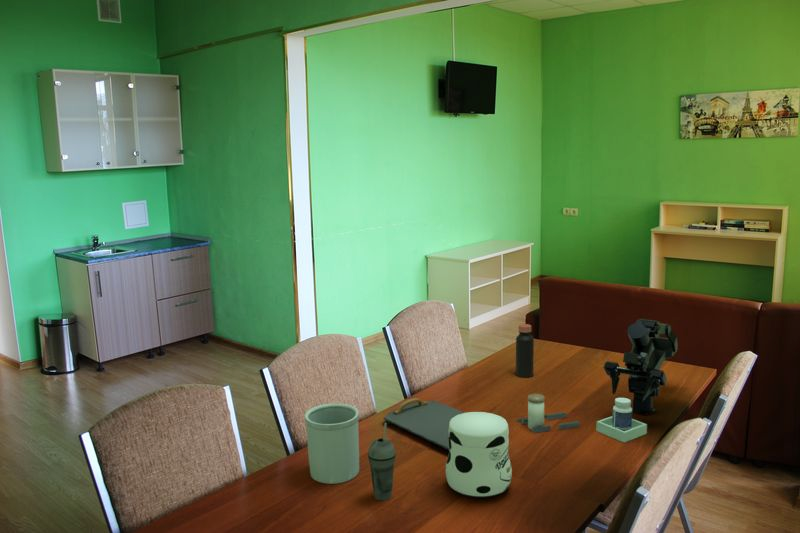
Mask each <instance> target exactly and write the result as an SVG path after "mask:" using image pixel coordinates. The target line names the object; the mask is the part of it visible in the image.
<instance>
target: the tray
mask: <svg viewBox="0 0 800 533" xmlns="http://www.w3.org/2000/svg"><path fill="white" fill-rule="evenodd" d="M612 418H613V415H611V416H609V417H606V418H602V419H600V420H597V421H596V426H595V427H596V429H595V431H596V432H598V433H599V434H603V435H605V436H608V437H610V438H611V439H615V440H617V441H620V442H622V443H627V442H630V441H632V440H634V439H637V438H639V437H642V436H644V435H647V433H648V431H647V430H648V424H647V423H644V422H642V421H639V420H637V419H635V418H632V428H631V429H629V430H627V431H622V430H620V429H617V428H615V427H612Z"/></svg>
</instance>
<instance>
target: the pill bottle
mask: <svg viewBox="0 0 800 533" xmlns="http://www.w3.org/2000/svg"><path fill="white" fill-rule="evenodd" d="M614 404H615V405H613V408H612V416H613V418H612V427H615V428H617V429H620V430H622V431H627V430H629V429H631V428H632V419H633V411H632V408H631V407H632V406H631V404H632V401H631V399H629V398H626V397H617V398H615V399H614Z"/></svg>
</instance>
